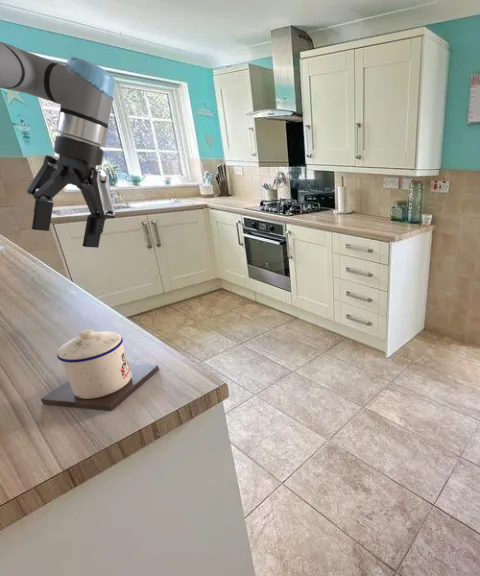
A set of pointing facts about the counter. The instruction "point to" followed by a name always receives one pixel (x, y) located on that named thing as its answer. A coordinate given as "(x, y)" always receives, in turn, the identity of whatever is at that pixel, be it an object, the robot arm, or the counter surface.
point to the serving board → (108, 402)
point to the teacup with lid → (95, 363)
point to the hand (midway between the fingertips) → (65, 238)
